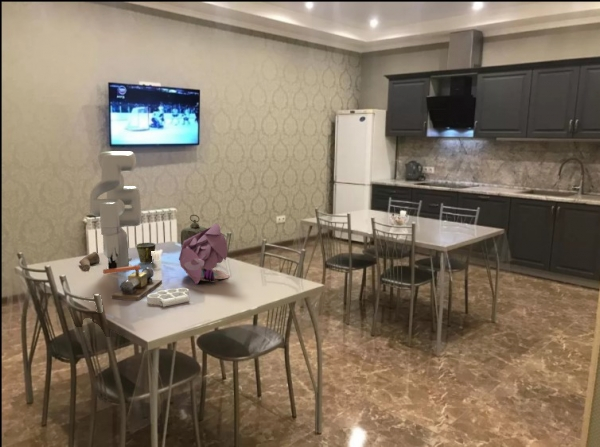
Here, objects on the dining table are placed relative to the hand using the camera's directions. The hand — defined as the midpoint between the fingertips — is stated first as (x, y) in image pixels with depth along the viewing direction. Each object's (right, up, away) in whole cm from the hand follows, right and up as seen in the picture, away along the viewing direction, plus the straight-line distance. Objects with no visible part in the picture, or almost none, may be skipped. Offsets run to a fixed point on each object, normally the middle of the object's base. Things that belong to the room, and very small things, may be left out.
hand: (112, 271), depth 216 cm
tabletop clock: (+23, +1, +60) cm, 65 cm away
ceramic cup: (0, -1, +49) cm, 49 cm away
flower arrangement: (+37, -6, +27) cm, 46 cm away
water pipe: (+10, -8, +4) cm, 13 cm away
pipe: (-28, -2, +43) cm, 51 cm away
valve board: (+10, -9, +4) cm, 14 cm away
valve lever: (+4, 0, -1) cm, 4 cm away
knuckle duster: (+27, -12, -7) cm, 31 cm away
